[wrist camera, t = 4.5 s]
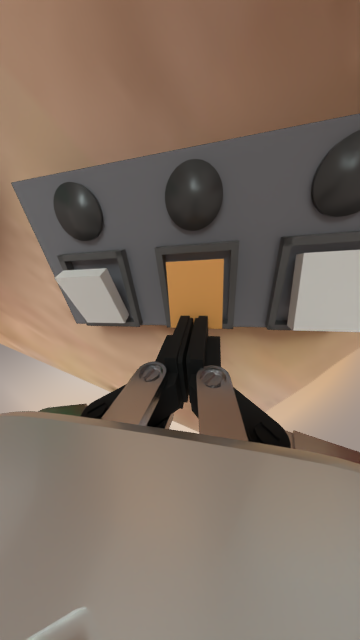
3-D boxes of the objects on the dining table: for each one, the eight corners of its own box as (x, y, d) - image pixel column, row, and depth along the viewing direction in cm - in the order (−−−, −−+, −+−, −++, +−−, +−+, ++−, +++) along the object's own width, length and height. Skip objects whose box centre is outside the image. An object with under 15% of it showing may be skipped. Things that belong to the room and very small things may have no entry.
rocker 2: (296, 254, 9) (304, 253, 8) (368, 250, 9) (384, 248, 8) (287, 325, 10) (293, 330, 9) (350, 326, 10) (362, 332, 9)
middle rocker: (169, 261, 11) (165, 262, 10) (223, 258, 10) (223, 258, 9) (174, 322, 12) (170, 327, 11) (221, 323, 11) (222, 328, 10)
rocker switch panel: (51, 189, 13) (0, 181, 10) (424, 122, 8) (543, 69, 5) (96, 308, 18) (71, 327, 15) (345, 307, 13) (382, 335, 10)
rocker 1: (63, 270, 11) (54, 278, 11) (106, 268, 11) (99, 276, 10) (93, 314, 14) (87, 322, 13) (129, 314, 13) (124, 323, 13)
